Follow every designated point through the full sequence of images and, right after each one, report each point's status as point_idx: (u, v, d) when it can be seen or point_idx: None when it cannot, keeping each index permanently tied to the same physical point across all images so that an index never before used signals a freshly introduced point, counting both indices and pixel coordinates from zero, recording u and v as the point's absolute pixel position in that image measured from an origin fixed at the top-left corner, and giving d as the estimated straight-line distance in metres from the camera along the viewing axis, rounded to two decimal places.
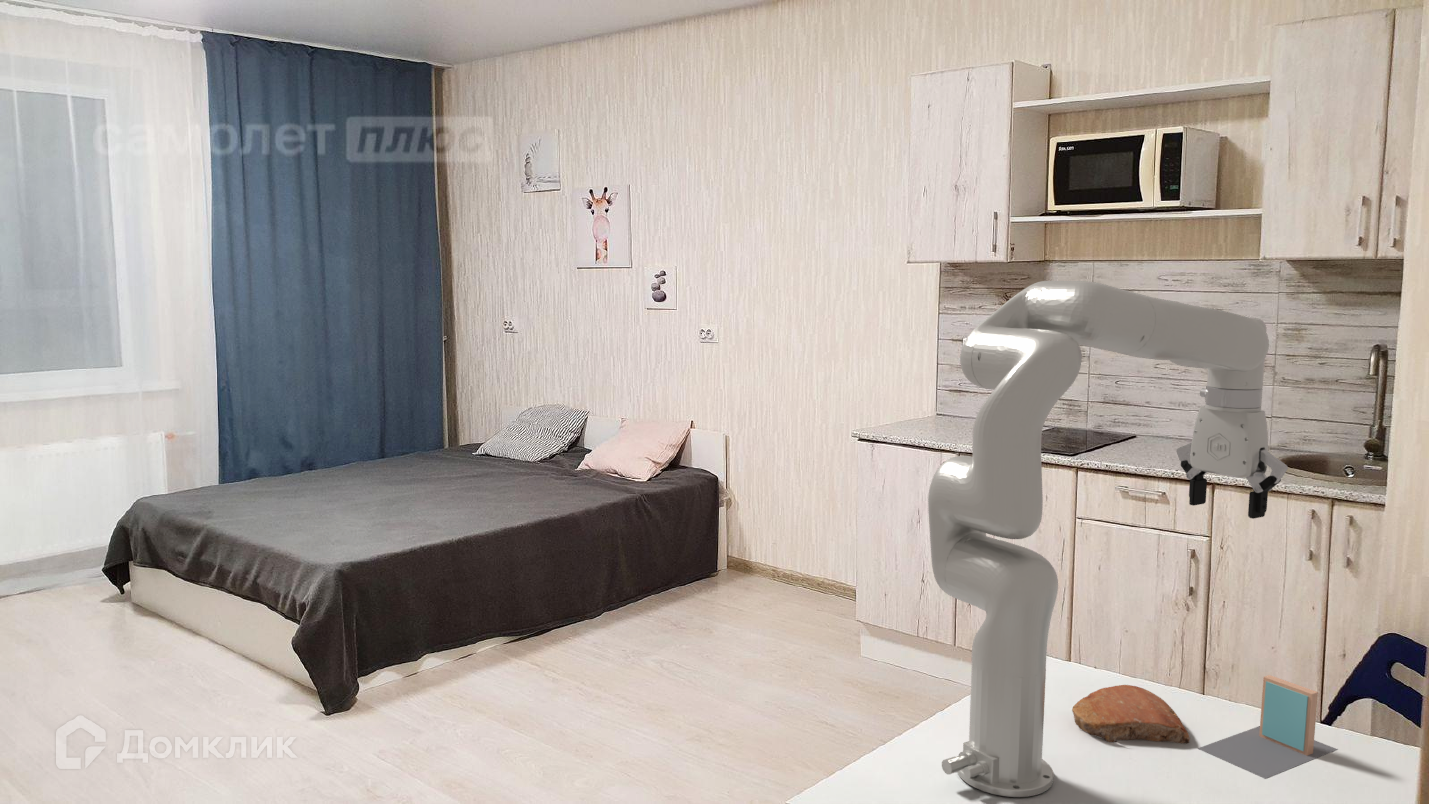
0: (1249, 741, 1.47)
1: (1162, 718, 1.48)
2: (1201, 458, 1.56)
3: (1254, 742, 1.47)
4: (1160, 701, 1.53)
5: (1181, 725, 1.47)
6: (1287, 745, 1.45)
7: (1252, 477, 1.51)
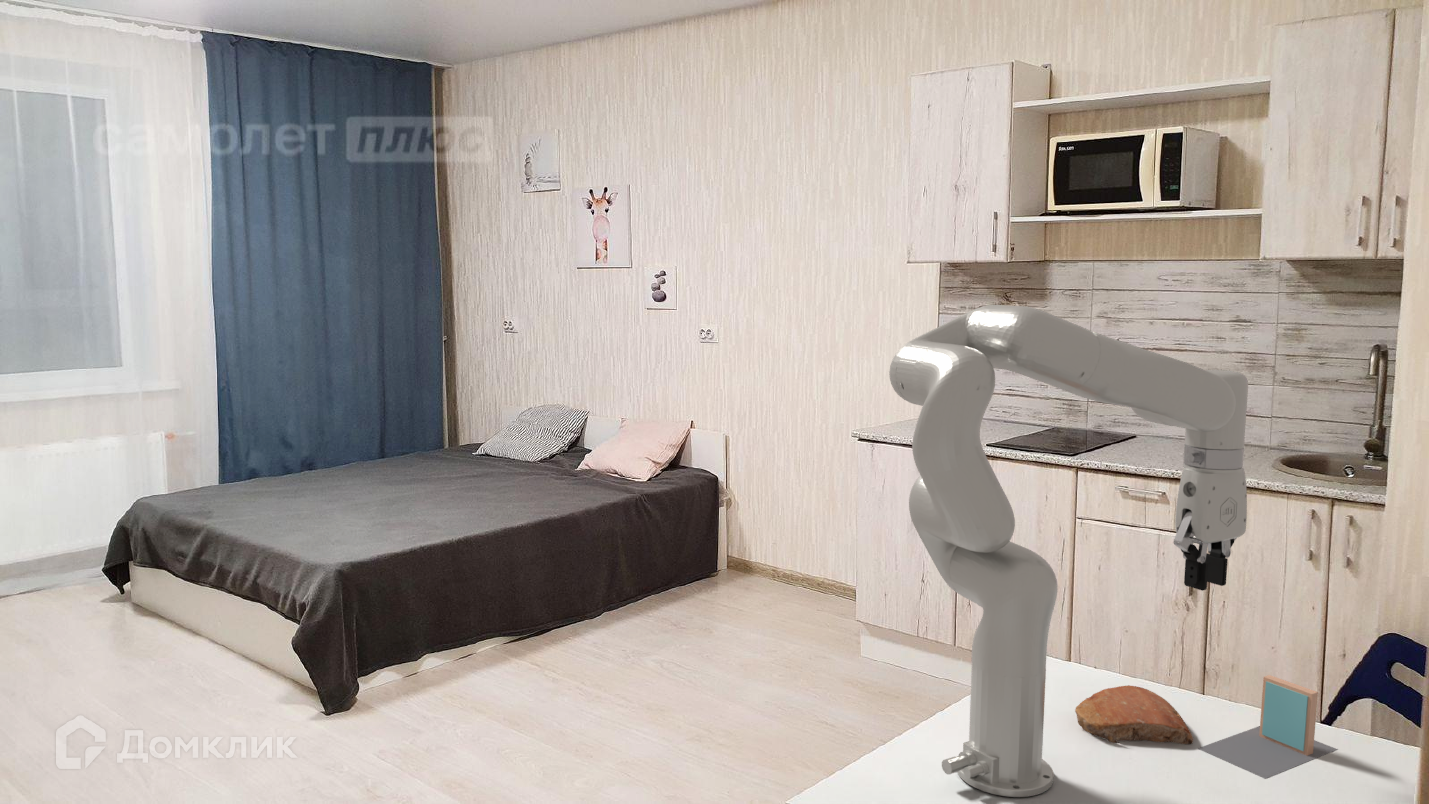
0: (1249, 741, 1.47)
1: (1166, 719, 1.47)
2: (1214, 529, 1.41)
3: (1254, 742, 1.47)
4: (1163, 702, 1.53)
5: (1184, 726, 1.47)
6: (1287, 745, 1.45)
7: (1229, 541, 1.45)
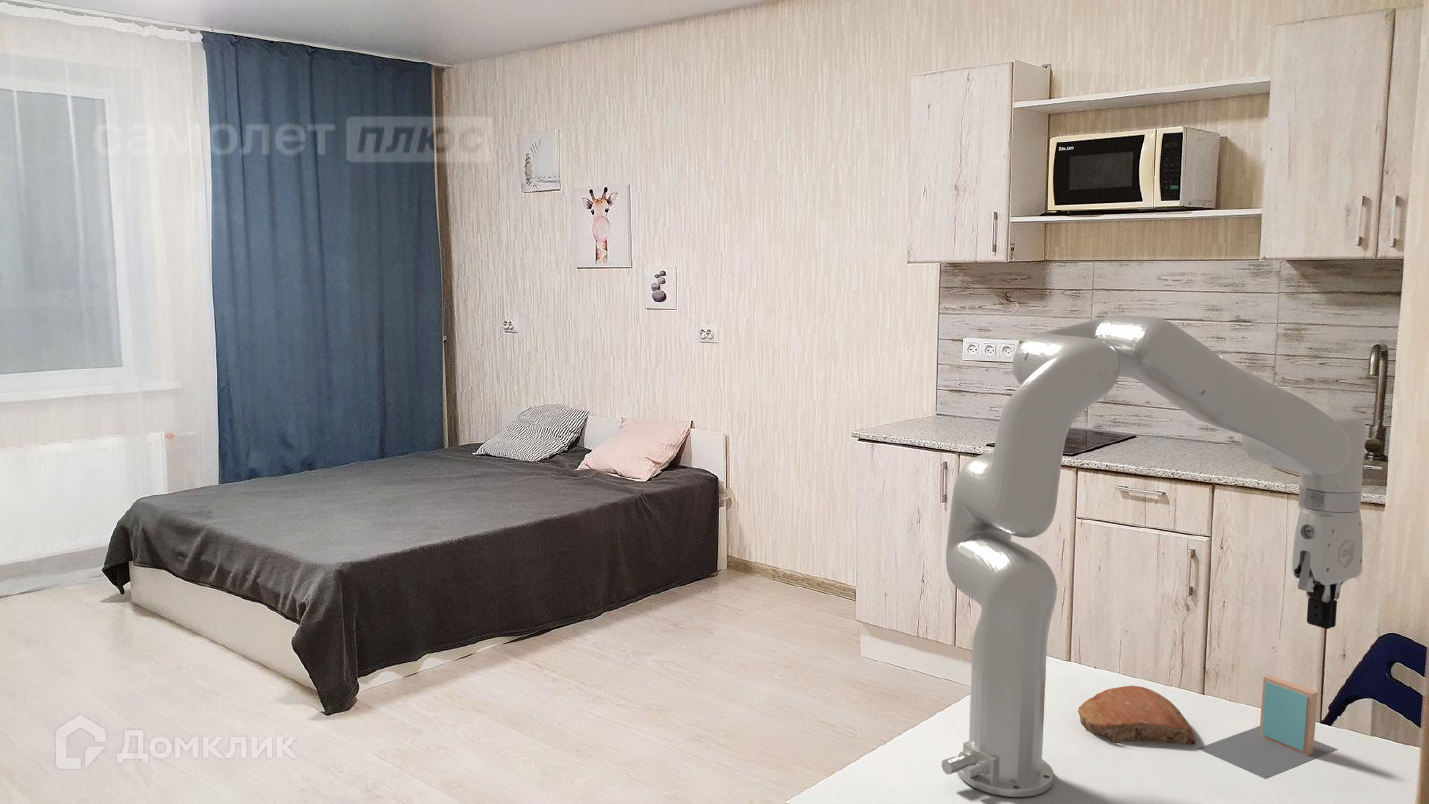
0: (1249, 741, 1.47)
1: (1169, 719, 1.47)
2: (1333, 571, 1.42)
3: (1254, 742, 1.47)
4: (1167, 702, 1.52)
5: (1187, 726, 1.47)
6: (1287, 745, 1.45)
7: (1340, 583, 1.46)
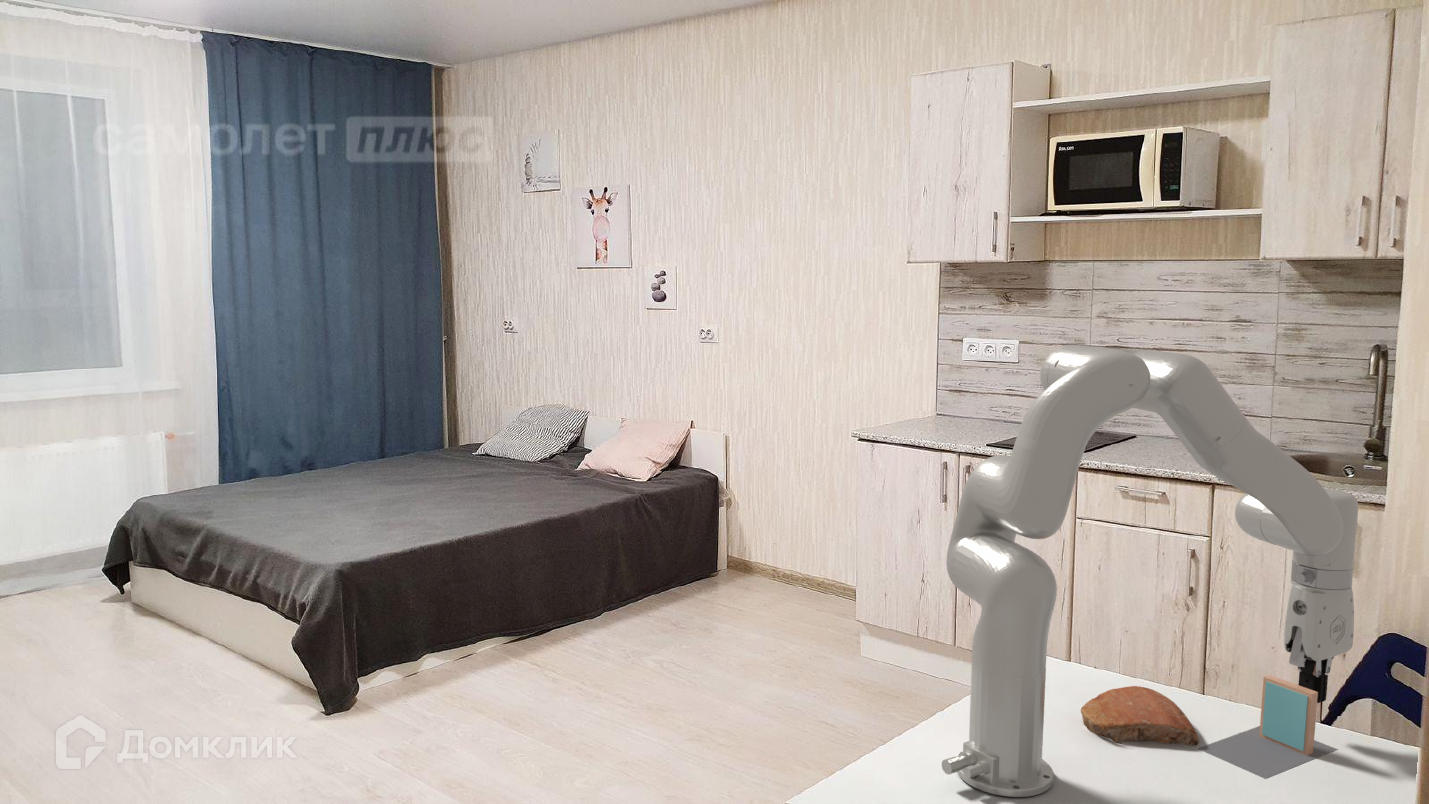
0: (1249, 741, 1.47)
1: (1171, 720, 1.47)
2: (1325, 647, 1.43)
3: (1254, 742, 1.47)
4: (1169, 703, 1.52)
5: (1190, 727, 1.46)
6: (1287, 745, 1.45)
7: (1331, 658, 1.47)
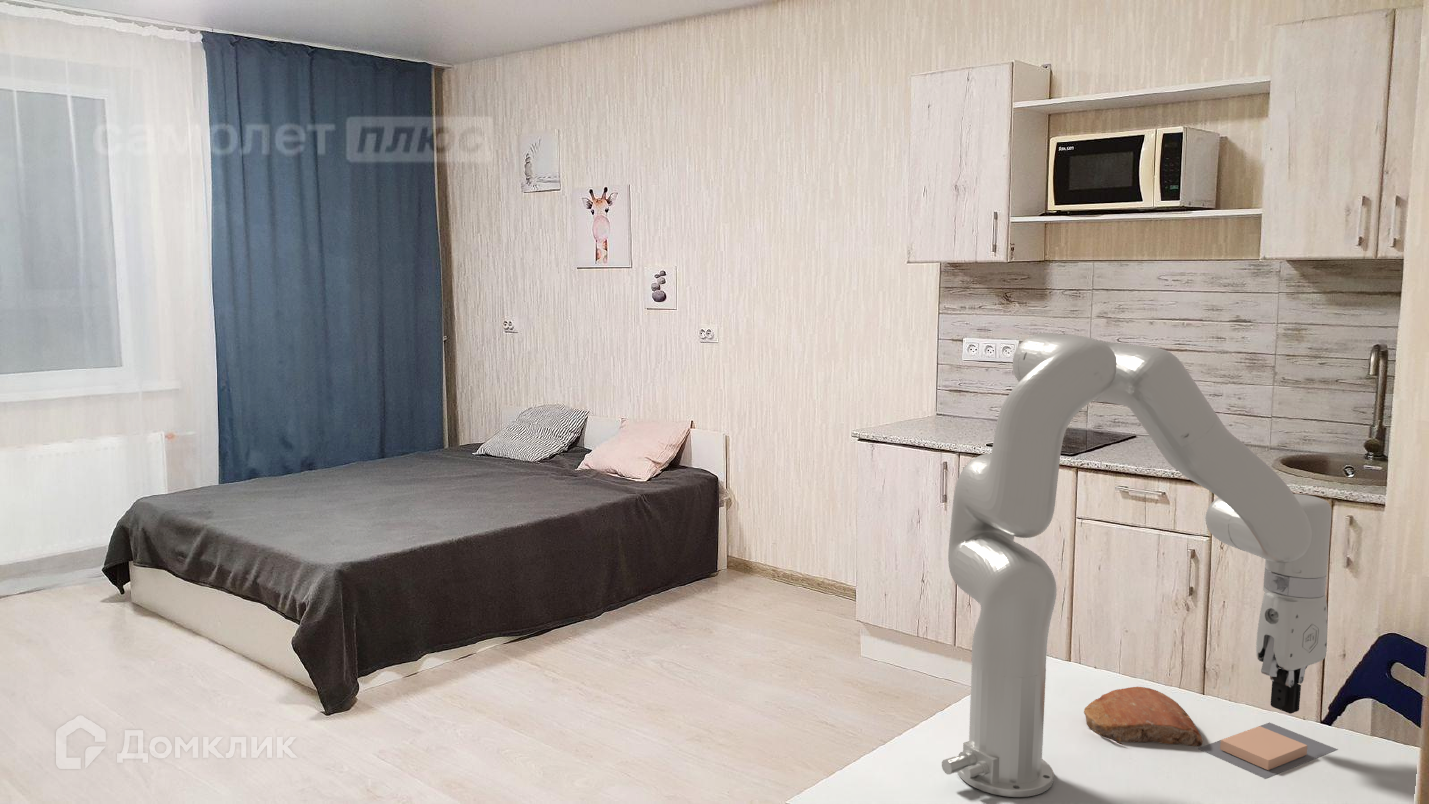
0: None
1: (1175, 720, 1.47)
2: (1297, 657, 1.40)
3: None
4: (1173, 703, 1.52)
5: (1194, 727, 1.46)
6: None
7: (1304, 667, 1.44)
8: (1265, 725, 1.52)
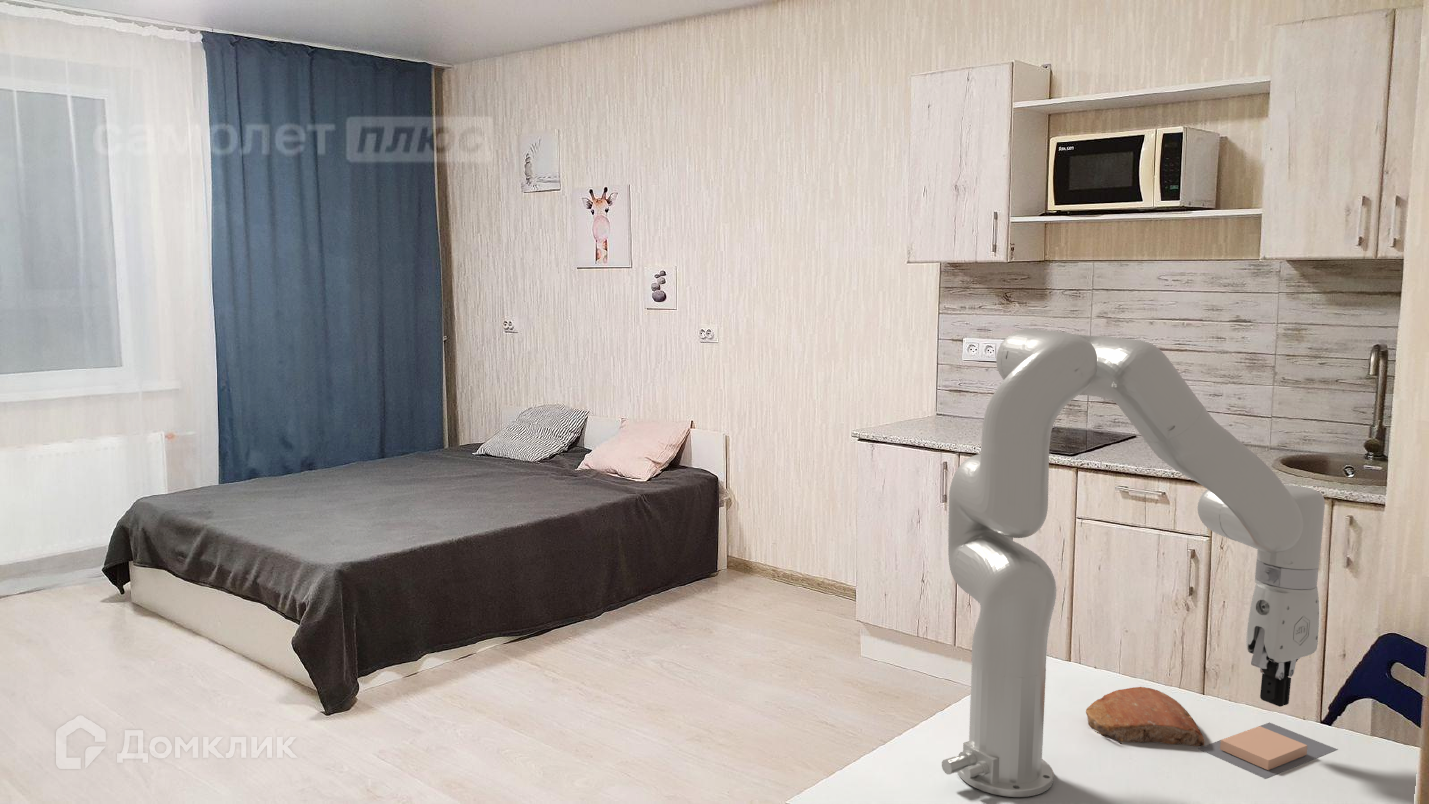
0: None
1: (1177, 721, 1.47)
2: (1287, 649, 1.39)
3: None
4: (1175, 703, 1.52)
5: (1196, 728, 1.46)
6: None
7: (1294, 660, 1.43)
8: (1265, 725, 1.52)
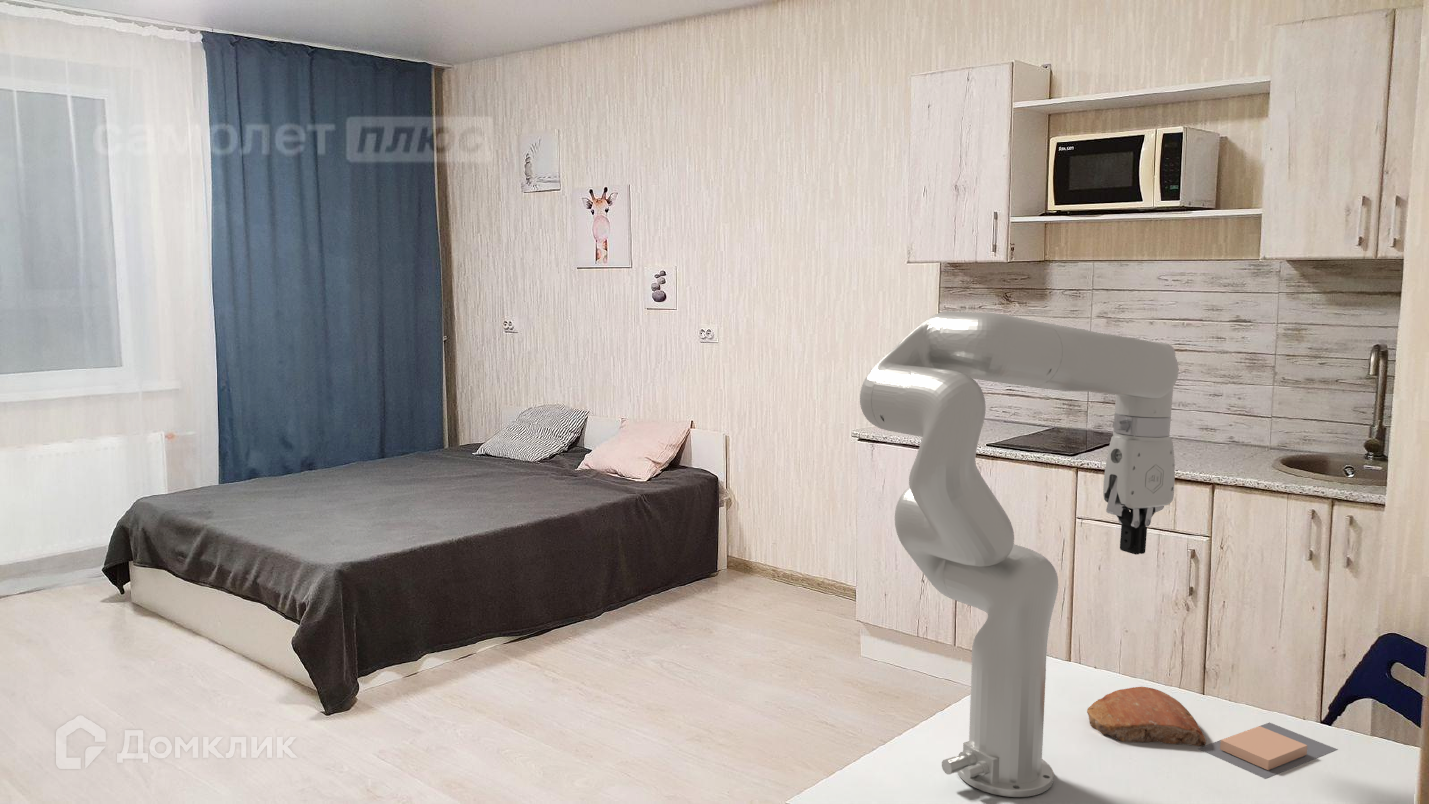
0: None
1: (1178, 720, 1.47)
2: (1139, 495, 1.45)
3: None
4: (1176, 703, 1.52)
5: (1197, 727, 1.46)
6: None
7: (1151, 510, 1.48)
8: (1265, 725, 1.52)
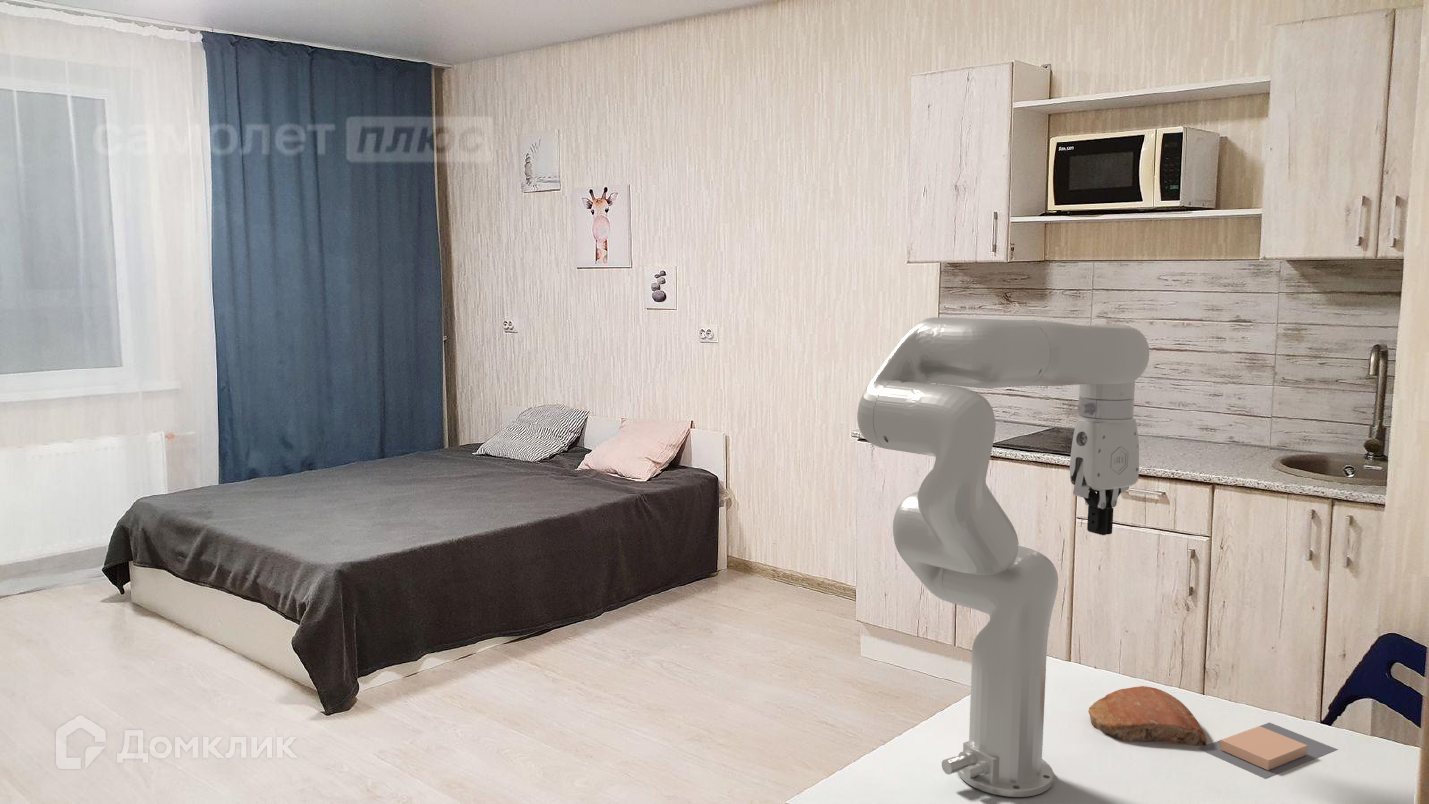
0: None
1: (1179, 720, 1.47)
2: (1105, 477, 1.46)
3: None
4: (1177, 703, 1.52)
5: (1198, 727, 1.46)
6: None
7: (1117, 491, 1.50)
8: (1265, 725, 1.52)
